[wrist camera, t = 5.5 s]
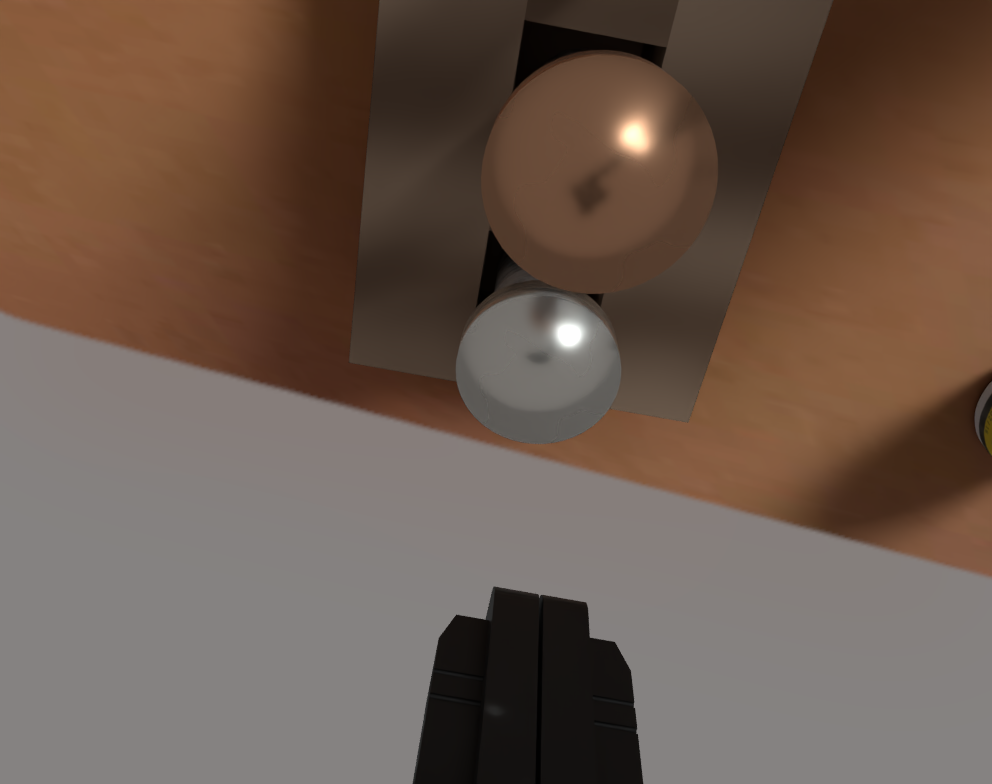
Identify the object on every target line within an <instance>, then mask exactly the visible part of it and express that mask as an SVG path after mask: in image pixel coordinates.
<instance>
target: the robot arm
mask: <svg viewBox="0 0 992 784" xmlns="http://www.w3.org/2000/svg"><path fill="white" fill-rule="evenodd" d="M636 730H637V722H636V714H635V708H634V696H633V686H632V677H631V670H630V669H629V667H628V665H627V663H626V661H625V660H624V658H623V656H622V654H621V652H620V650H619V649H618V647H617V645H616V643H615V642H612V641H606V640H599V639H594V638H590V636H589V617H588V607H587V604H586V602H580V601H574V600H568V599H563V598H557V597H551V596H546V595H541V596H540V598H539V595H538V594H533V593H528V592H522V591H516V590H510V589H505V588H499V587H493V591H492V594H491V598H490V603H489V607H488V611H487V616H486V620H484V619H478V618H472V617H466V616H460V615H456V616H455V617H454V618H453V620H452V621H451V623H450V624H449V625H448V627H447V628H446V629H445V631H444V632H443V633H442V635H441V636H440V637H439V640H438V645H437V650H436V655H435V661H434V666H433V671H432V676H431V682H430V687H429V692H428V697H427V702H426V708H425V714H424V721H423V726H422V732H421V738H420V743H419V750H418V755H417V762H416V767H415V773H414V779H413V784H643V778H642V769H641V759H640V750H639V741H638V734H636Z"/></svg>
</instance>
